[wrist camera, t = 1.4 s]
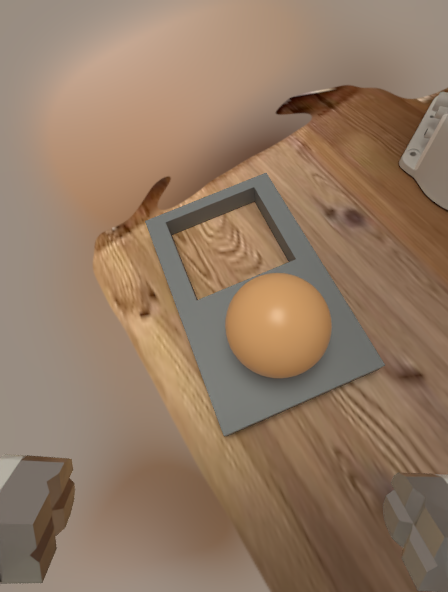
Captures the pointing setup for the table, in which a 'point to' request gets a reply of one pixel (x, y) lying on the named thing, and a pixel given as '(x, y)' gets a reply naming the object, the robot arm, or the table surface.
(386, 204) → the table surface
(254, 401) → the deck
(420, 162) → the robot arm
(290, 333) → the ball
